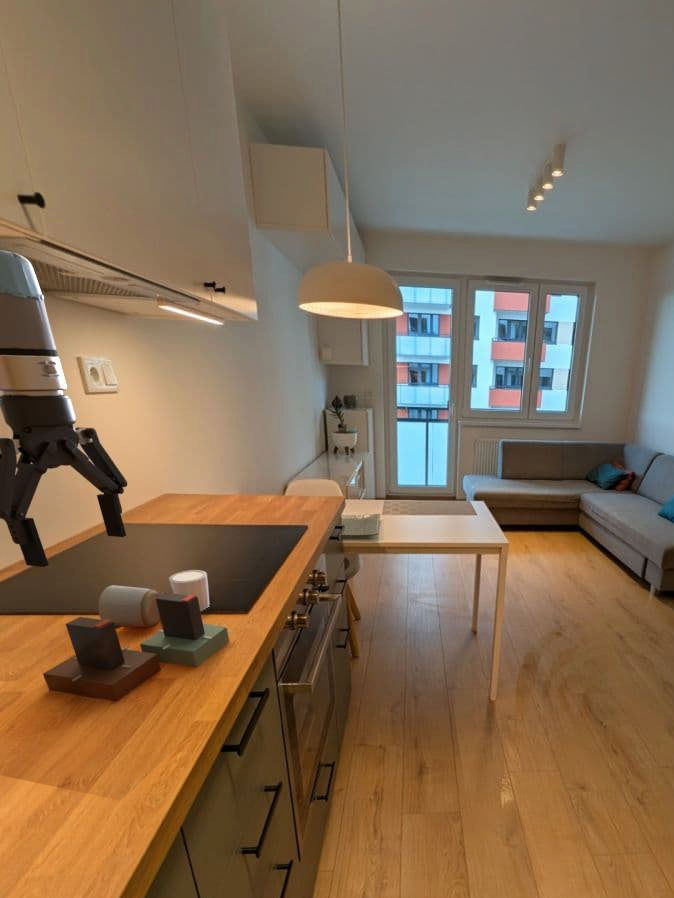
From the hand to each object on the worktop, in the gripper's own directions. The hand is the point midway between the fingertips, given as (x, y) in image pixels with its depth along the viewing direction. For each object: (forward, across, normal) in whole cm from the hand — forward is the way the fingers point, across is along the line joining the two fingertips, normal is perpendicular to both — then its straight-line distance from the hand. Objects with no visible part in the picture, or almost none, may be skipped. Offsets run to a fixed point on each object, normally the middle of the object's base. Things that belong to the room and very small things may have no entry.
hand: (80, 549), depth 74 cm
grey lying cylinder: (+20, +15, +8) cm, 26 cm away
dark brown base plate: (+20, -4, -2) cm, 20 cm away
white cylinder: (+20, +23, +2) cm, 30 cm away
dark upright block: (+17, +7, -8) cm, 20 cm away
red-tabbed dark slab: (+17, -3, -2) cm, 17 cm away
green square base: (+20, +7, -8) cm, 23 cm away
